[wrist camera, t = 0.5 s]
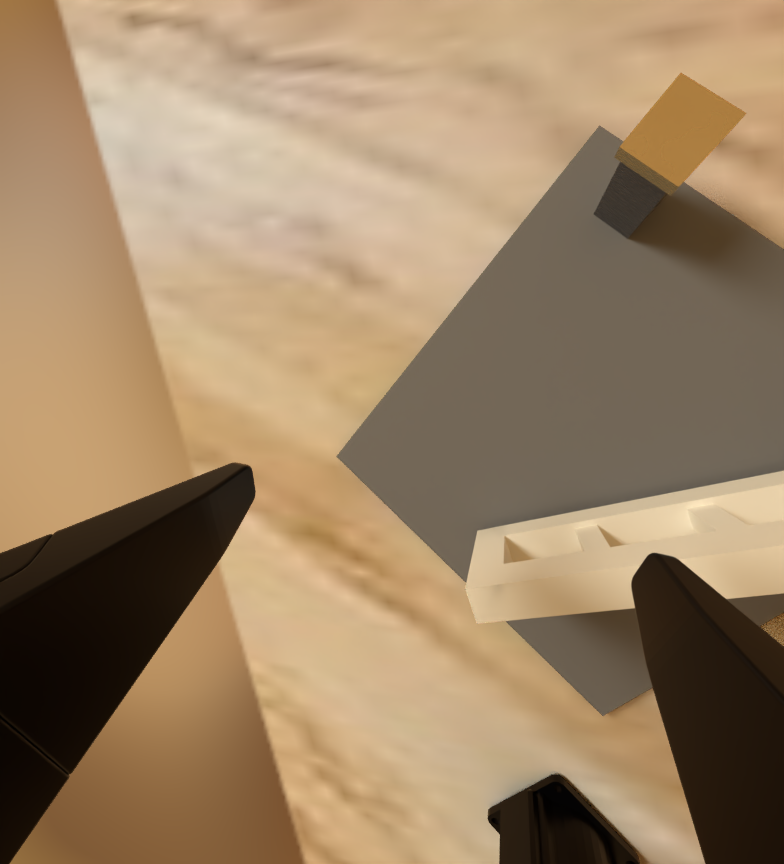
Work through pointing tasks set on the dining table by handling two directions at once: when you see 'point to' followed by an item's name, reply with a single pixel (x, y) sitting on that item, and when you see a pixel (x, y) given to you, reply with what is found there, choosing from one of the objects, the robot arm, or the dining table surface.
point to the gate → (631, 550)
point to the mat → (589, 392)
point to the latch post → (664, 151)
